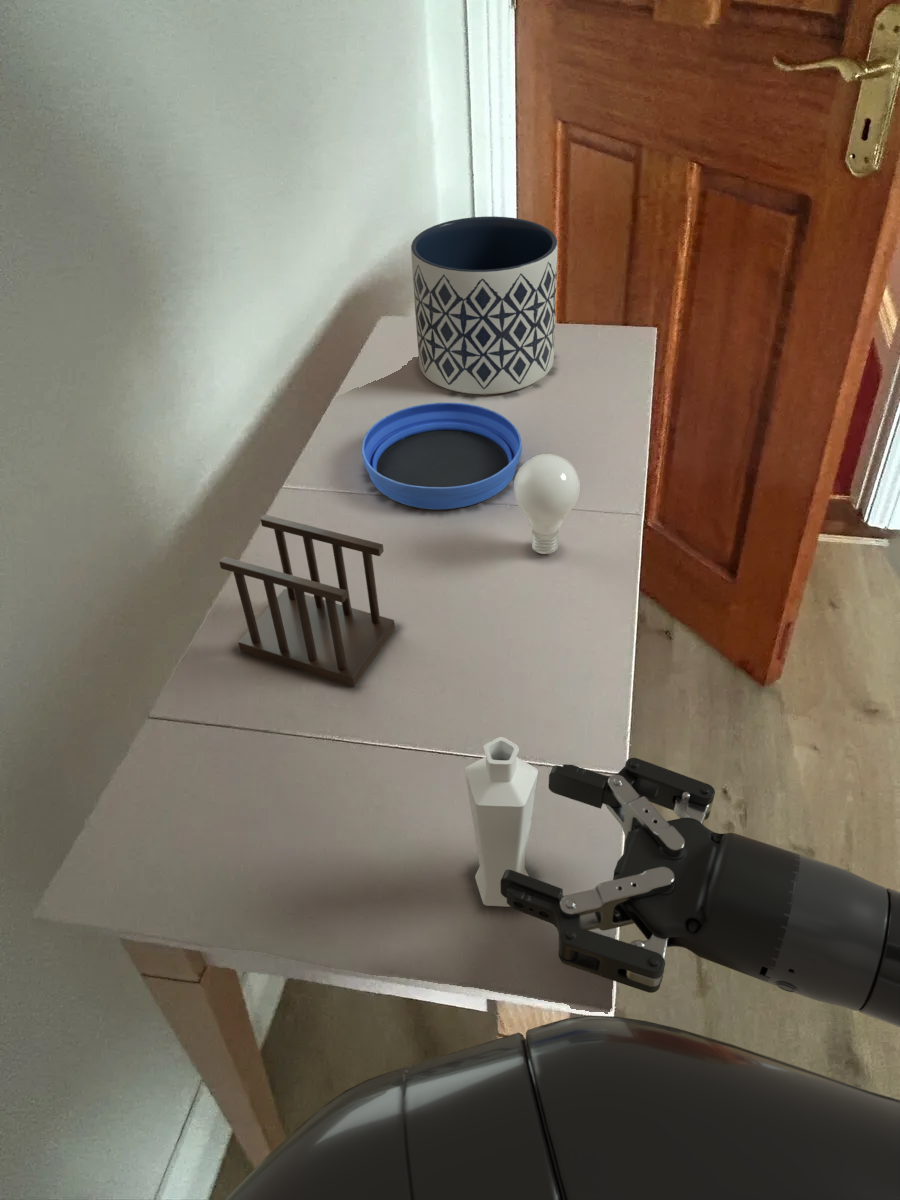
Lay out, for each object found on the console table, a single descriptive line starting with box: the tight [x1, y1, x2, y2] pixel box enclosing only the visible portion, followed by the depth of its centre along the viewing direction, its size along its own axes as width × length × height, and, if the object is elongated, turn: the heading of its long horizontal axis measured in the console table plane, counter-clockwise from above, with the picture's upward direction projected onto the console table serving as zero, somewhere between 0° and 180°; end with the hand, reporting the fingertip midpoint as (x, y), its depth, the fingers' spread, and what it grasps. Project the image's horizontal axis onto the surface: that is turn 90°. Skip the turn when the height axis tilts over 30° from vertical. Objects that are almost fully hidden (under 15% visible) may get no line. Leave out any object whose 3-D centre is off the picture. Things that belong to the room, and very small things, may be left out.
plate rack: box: [219, 514, 396, 688], centre depth 81 cm, size 12×8×10 cm, turn 66°
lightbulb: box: [513, 453, 581, 555], centre depth 89 cm, size 6×6×11 cm
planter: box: [410, 215, 559, 395], centre depth 118 cm, size 18×18×16 cm
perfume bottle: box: [464, 736, 539, 908], centre depth 60 cm, size 5×4×15 cm
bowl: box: [361, 402, 523, 510], centre depth 104 cm, size 18×18×4 cm
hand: (527, 827), depth 58 cm, fingers open, 8 cm apart
